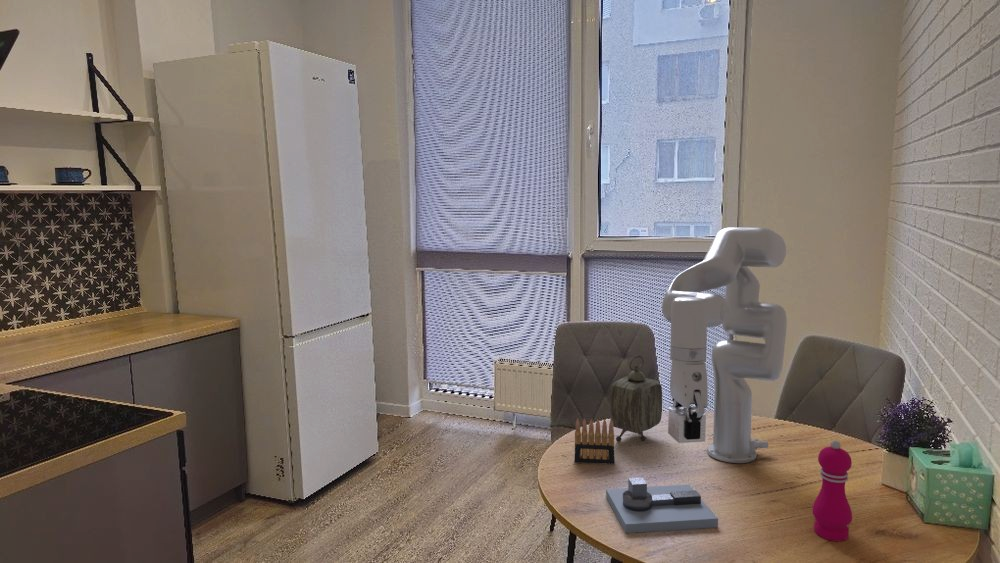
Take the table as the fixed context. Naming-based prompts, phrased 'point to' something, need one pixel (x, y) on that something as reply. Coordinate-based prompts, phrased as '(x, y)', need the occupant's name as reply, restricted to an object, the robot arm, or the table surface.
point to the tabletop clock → (635, 402)
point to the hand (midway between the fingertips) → (686, 432)
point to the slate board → (661, 513)
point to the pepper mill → (833, 494)
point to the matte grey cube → (683, 425)
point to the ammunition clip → (593, 451)
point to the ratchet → (654, 497)
